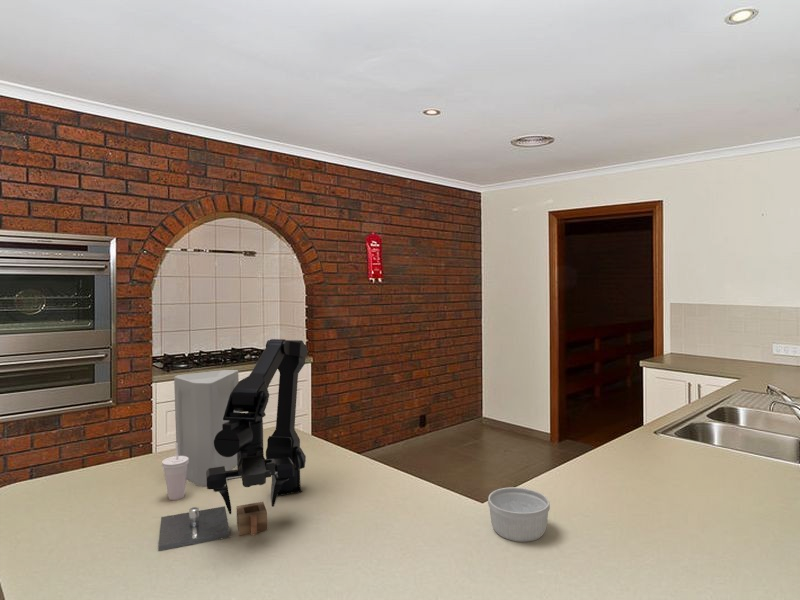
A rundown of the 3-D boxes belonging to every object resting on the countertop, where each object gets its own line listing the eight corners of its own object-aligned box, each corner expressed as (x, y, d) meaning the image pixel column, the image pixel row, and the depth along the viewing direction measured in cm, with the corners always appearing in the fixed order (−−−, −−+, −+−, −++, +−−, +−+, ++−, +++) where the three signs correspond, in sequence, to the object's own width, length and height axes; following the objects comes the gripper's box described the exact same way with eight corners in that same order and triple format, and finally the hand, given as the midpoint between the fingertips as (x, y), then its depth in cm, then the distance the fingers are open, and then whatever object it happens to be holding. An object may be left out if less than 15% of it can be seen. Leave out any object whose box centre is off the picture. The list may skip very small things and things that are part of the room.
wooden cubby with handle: (263, 518, 121) (263, 501, 121) (268, 532, 114) (267, 514, 114) (236, 523, 119) (236, 506, 118) (239, 537, 112) (239, 519, 112)
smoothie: (180, 503, 129) (178, 448, 129) (157, 501, 131) (155, 446, 130) (195, 492, 136) (193, 439, 135) (173, 490, 137) (171, 438, 136)
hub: (225, 510, 125) (224, 492, 125) (229, 537, 112) (229, 516, 112) (161, 521, 120) (160, 502, 120) (158, 550, 107) (157, 529, 107)
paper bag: (194, 460, 160) (192, 369, 158) (241, 461, 159) (239, 370, 157) (161, 485, 141) (157, 382, 139) (214, 486, 140) (211, 383, 138)
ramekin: (514, 551, 106) (514, 518, 105) (475, 524, 117) (475, 494, 117) (562, 536, 112) (562, 504, 111) (521, 511, 123) (521, 482, 123)
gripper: (206, 459, 105) (209, 534, 106) (298, 446, 112) (300, 517, 113) (205, 443, 115) (207, 511, 116) (289, 432, 123) (290, 497, 123)
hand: (251, 509), depth 117 cm, fingers open, 9 cm apart
